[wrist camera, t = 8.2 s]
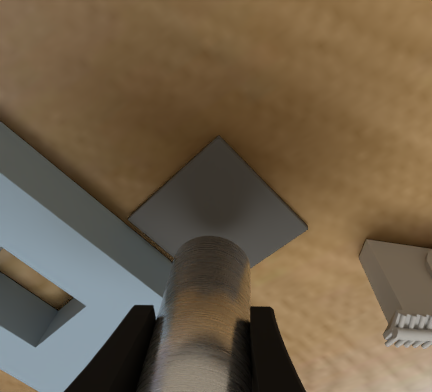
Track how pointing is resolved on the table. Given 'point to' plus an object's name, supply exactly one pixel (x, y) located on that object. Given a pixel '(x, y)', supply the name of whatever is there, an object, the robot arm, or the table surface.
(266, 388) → the robot arm
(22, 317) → the light blue flat block
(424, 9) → the table surface
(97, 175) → the table surface
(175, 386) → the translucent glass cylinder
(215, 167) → the rubber mat
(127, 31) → the table surface
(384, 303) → the lattice window wall
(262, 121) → the table surface
